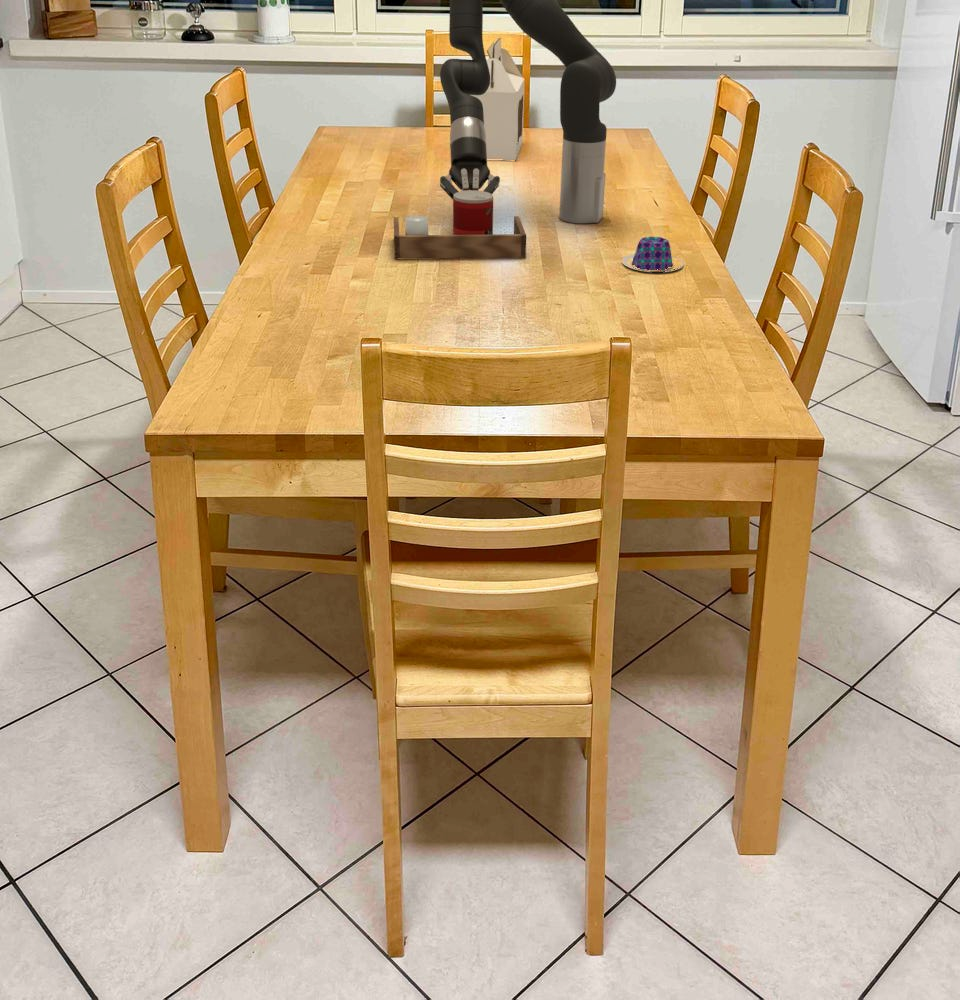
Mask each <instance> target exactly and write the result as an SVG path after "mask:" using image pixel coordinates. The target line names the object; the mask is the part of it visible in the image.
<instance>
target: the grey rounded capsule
mask: <svg viewBox="0 0 960 1000" xmlns="http://www.w3.org/2000/svg"><path fill="white" fill-rule="evenodd" d="M404 232H405V233H404V235H429V217H428V216H426V215H419V214H418V215H415V214H414V215H409V216H406V217H404Z"/></svg>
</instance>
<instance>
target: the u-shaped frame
mask: <svg viewBox="0 0 960 1000" xmlns="http://www.w3.org/2000/svg"><path fill="white" fill-rule="evenodd" d="M513 217H514V218H513V234H512V233H510V234H509V233H508V234H507V233H505V234H502V233H501V234H499V233H497V234H494V233H493V234H490V235H453V234H428V235H405V234H404V235H403V234H401V235H400V222H399V219H400V218H399V216H396V217H395V216H394V217H393V243H394V244H393V245H394V246H393V248H394V259H395V258H467V259H526V257H527V233H526V231H525V228H524V225H523V223H522V220H521V218H520V216H519V215H517V216H516V215H514V216H513Z"/></svg>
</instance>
